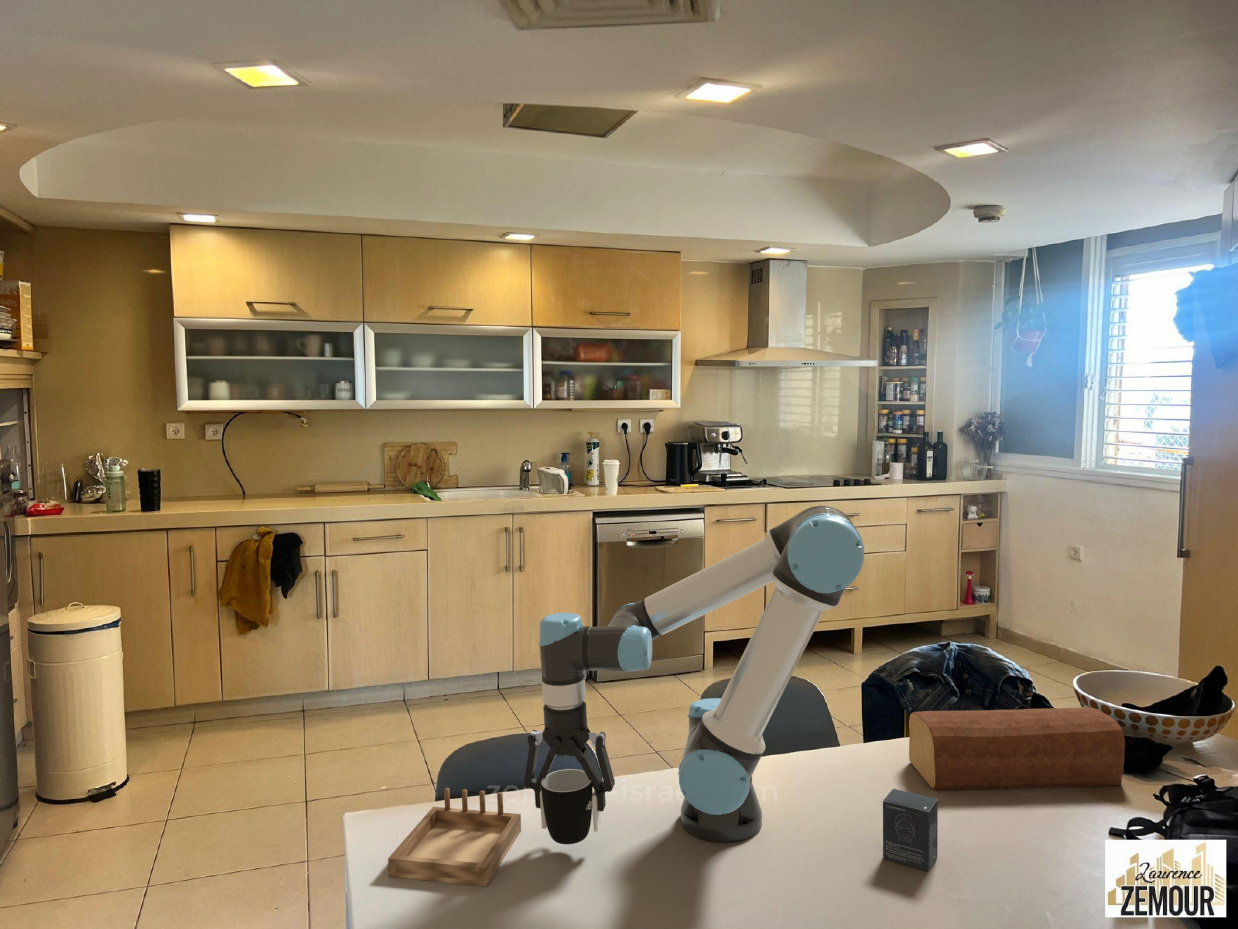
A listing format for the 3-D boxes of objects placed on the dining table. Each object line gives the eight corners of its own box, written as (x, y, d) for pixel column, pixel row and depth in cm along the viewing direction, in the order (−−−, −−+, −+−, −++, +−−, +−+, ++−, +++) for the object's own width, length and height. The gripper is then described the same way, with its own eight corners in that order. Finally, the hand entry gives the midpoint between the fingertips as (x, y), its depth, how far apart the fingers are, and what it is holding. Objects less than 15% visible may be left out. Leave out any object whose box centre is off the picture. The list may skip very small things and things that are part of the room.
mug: (595, 847, 147) (592, 790, 146) (542, 850, 147) (539, 793, 146) (594, 813, 159) (592, 760, 158) (546, 816, 159) (543, 763, 158)
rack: (521, 830, 160) (519, 793, 159) (486, 886, 142) (484, 844, 142) (433, 823, 164) (432, 786, 163) (388, 876, 146) (386, 835, 145)
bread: (1126, 789, 172) (1128, 724, 171) (933, 794, 172) (934, 729, 170) (1084, 756, 187) (1085, 696, 186) (906, 761, 187) (906, 701, 186)
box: (937, 857, 148) (938, 798, 147) (928, 872, 144) (929, 811, 143) (892, 844, 153) (892, 787, 152) (881, 858, 148) (882, 799, 147)
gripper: (628, 696, 153) (634, 819, 154) (513, 693, 157) (520, 813, 159) (620, 712, 145) (626, 840, 147) (499, 708, 150) (507, 833, 151)
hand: (571, 826), depth 153 cm, fingers closed on mug, 9 cm apart
